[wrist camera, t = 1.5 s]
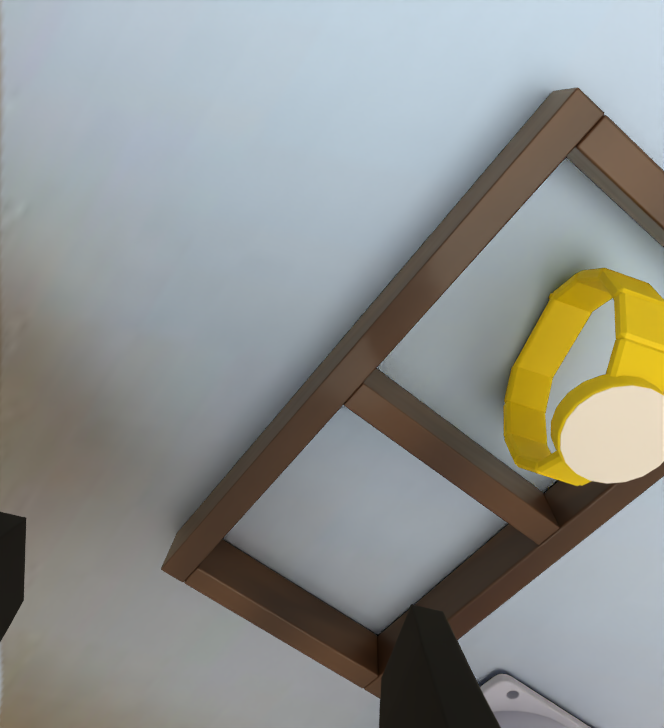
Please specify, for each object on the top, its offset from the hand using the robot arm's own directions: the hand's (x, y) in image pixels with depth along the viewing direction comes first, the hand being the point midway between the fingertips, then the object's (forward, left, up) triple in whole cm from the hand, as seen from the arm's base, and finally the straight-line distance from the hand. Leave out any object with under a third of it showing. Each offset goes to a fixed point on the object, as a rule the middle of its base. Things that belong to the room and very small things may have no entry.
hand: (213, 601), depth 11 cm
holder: (-6, -2, -10) cm, 12 cm away
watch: (-6, -7, -10) cm, 14 cm away
